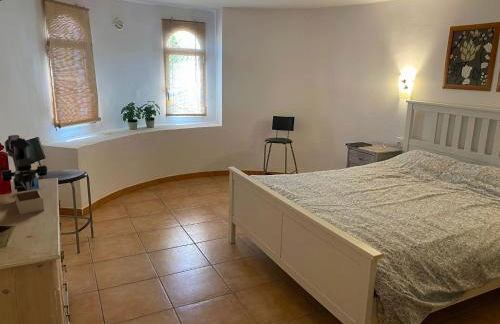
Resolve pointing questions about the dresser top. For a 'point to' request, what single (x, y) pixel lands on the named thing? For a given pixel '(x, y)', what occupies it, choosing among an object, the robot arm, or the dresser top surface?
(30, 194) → the carton
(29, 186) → the carton lid
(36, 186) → the perfume bottle
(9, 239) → the dresser top surface
